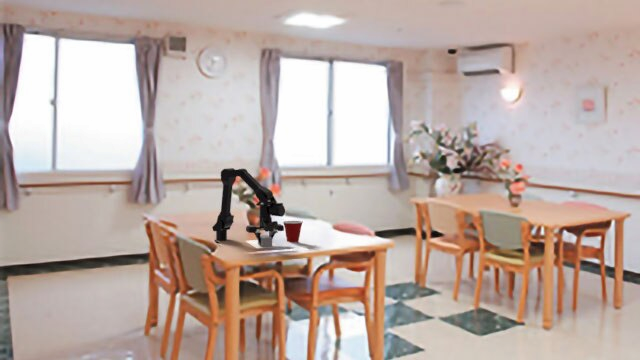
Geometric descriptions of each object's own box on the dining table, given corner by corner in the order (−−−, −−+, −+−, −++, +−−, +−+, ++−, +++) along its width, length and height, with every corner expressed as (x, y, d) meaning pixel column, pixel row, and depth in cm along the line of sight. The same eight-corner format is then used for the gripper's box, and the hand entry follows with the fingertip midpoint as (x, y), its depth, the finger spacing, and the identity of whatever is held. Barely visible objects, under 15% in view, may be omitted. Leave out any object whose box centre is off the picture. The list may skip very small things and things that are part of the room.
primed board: (245, 242, 312) (245, 240, 312) (266, 241, 317) (266, 239, 317) (256, 250, 294) (256, 248, 294) (279, 249, 299) (279, 246, 299)
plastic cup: (297, 240, 322) (297, 218, 321) (306, 244, 313) (306, 221, 312) (279, 241, 317) (279, 219, 316) (287, 245, 308) (288, 223, 306)
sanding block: (257, 244, 304) (257, 235, 303) (267, 243, 306) (267, 235, 305) (262, 247, 296) (262, 238, 296) (272, 246, 298) (272, 237, 298)
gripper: (252, 218, 288) (252, 249, 290) (287, 216, 296) (287, 246, 298) (245, 214, 299) (245, 244, 300) (280, 213, 306) (279, 242, 308)
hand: (264, 244), depth 301 cm, fingers closed on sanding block, 5 cm apart
